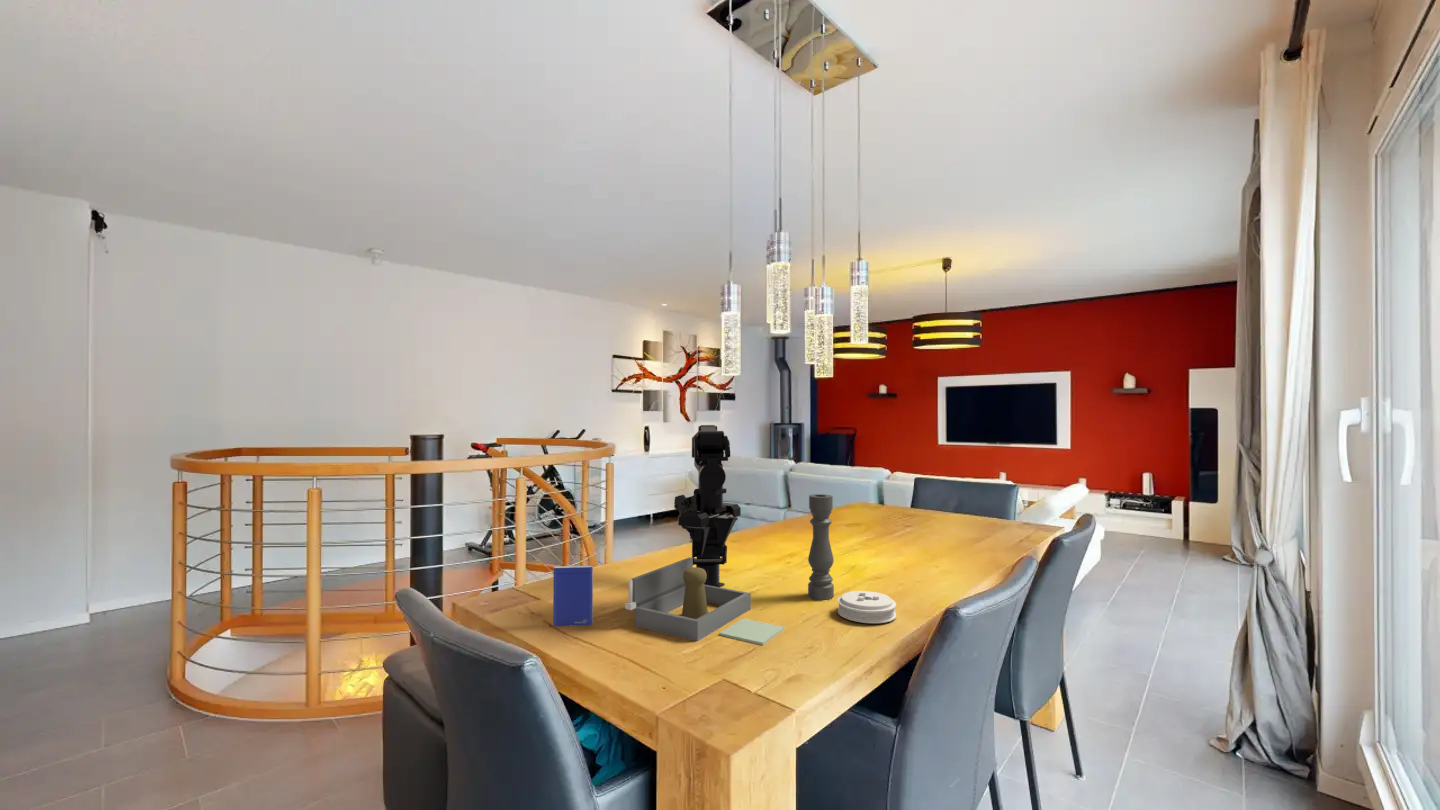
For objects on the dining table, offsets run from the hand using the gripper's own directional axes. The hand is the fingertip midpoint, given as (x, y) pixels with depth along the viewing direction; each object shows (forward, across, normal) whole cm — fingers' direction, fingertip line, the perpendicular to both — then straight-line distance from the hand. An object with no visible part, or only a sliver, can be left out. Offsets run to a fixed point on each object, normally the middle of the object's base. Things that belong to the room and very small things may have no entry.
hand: (710, 551), depth 141 cm
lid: (+14, -13, +33) cm, 38 cm away
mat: (+13, +9, +16) cm, 22 cm away
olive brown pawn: (+13, +8, +1) cm, 15 cm away
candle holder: (+13, -20, +19) cm, 31 cm away
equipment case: (+13, +8, +1) cm, 15 cm away
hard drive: (+13, +25, -19) cm, 34 cm away
